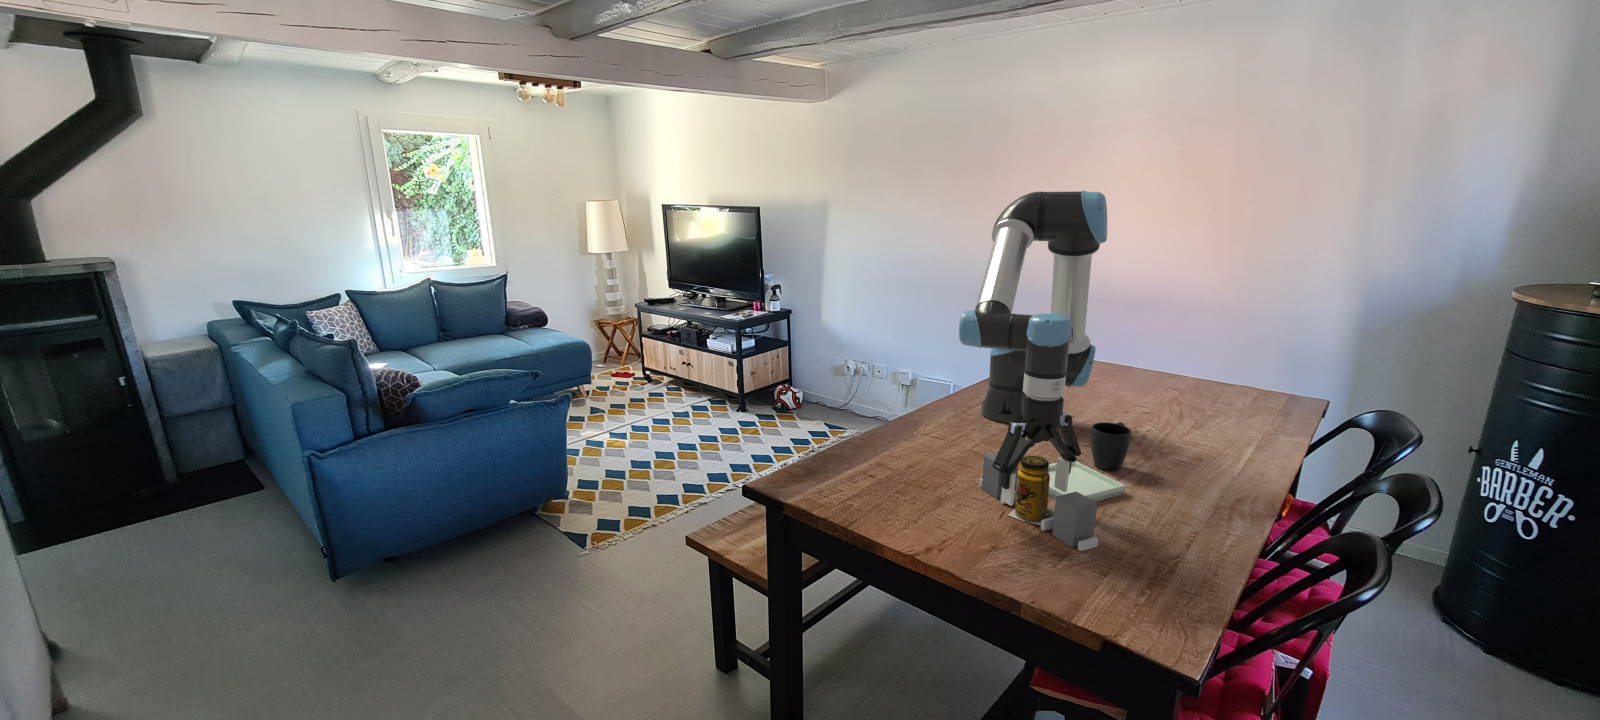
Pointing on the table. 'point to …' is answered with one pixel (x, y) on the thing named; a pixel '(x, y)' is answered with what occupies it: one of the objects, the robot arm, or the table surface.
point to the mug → (1109, 445)
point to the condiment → (1032, 491)
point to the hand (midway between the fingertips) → (1034, 495)
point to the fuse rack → (1069, 516)
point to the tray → (1086, 483)
